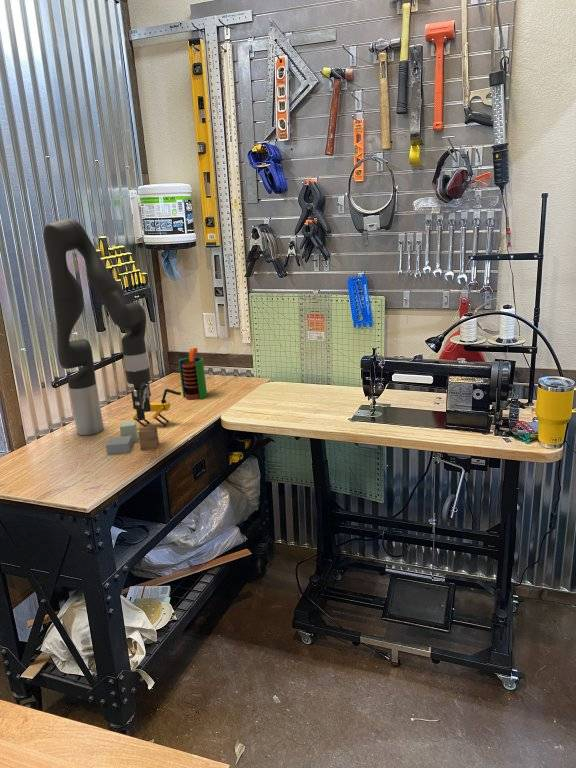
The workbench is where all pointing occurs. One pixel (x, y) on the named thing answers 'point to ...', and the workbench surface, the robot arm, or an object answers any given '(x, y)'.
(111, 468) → the workbench surface
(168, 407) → the robot dog
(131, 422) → the sage block
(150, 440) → the walnut block
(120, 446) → the base block
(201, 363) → the motor
